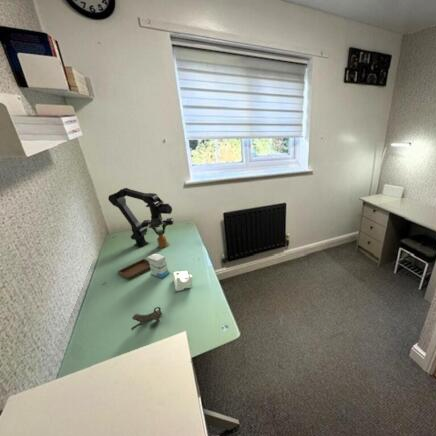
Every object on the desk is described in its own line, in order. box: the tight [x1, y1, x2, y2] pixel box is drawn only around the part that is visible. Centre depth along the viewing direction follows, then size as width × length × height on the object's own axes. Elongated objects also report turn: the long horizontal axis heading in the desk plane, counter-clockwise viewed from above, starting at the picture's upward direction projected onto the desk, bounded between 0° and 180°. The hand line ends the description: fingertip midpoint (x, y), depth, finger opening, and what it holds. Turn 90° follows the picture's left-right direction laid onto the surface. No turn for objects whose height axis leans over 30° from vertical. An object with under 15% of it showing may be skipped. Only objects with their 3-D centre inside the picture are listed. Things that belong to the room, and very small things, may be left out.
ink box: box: [147, 253, 169, 279], centre depth 135 cm, size 8×5×12 cm, turn 65°
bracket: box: [172, 270, 193, 292], centre depth 129 cm, size 13×7×8 cm, turn 31°
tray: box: [117, 258, 151, 281], centre depth 140 cm, size 11×15×2 cm
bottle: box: [156, 234, 169, 249], centre depth 164 cm, size 6×6×9 cm
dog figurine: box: [130, 306, 163, 331], centre depth 103 cm, size 12×6×7 cm, turn 114°
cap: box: [156, 229, 165, 236], centre depth 161 cm, size 4×4×2 cm
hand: (160, 233), depth 162 cm, fingers closed on cap, 4 cm apart
